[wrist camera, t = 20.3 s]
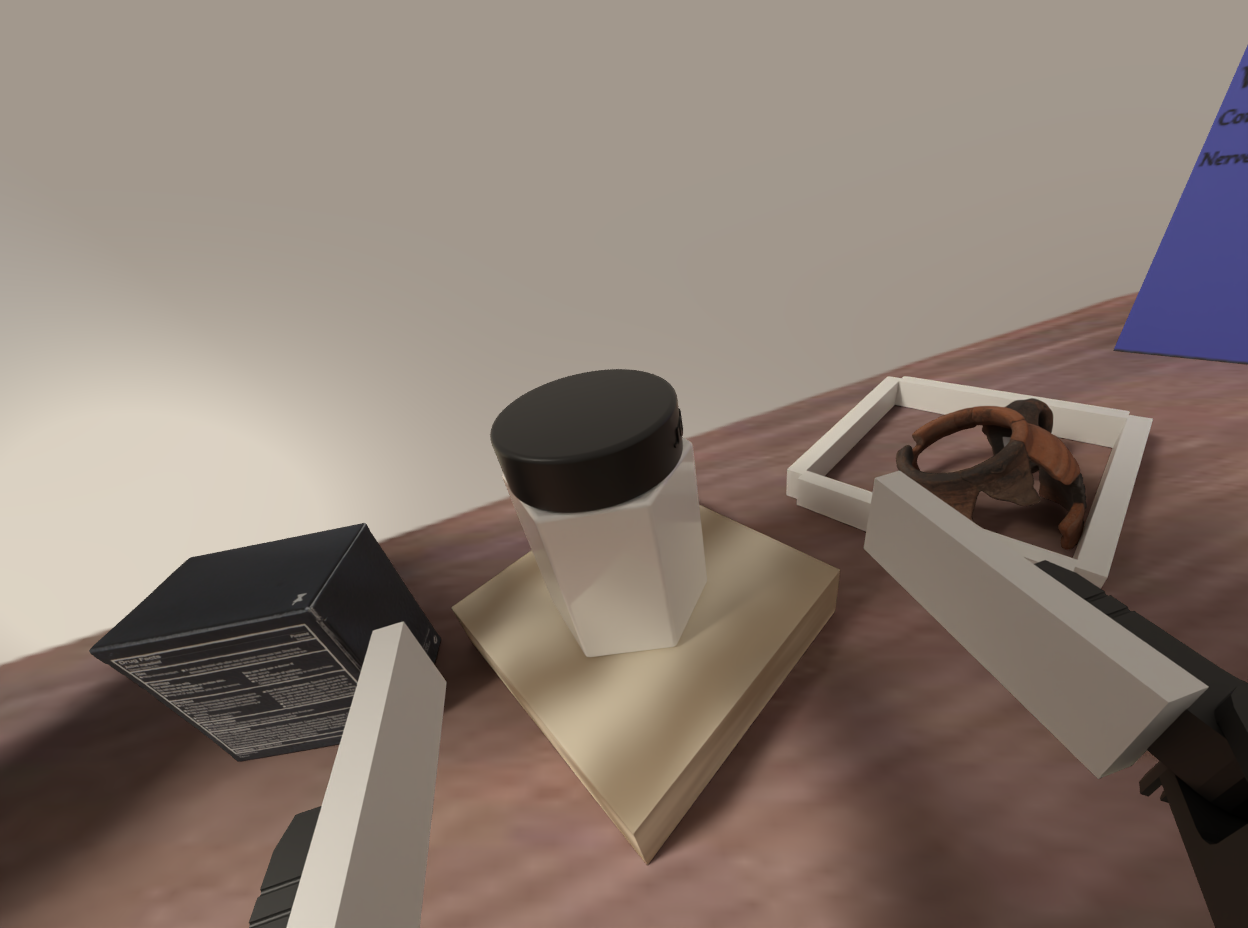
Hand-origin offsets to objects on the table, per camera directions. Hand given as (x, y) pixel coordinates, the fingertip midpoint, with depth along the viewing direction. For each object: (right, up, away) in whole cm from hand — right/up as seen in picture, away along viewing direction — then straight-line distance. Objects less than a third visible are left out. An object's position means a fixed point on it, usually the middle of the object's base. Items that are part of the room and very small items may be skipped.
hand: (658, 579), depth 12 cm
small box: (-18, -11, +15) cm, 26 cm away
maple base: (0, -7, +15) cm, 17 cm away
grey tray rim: (+24, +3, +22) cm, 33 cm away
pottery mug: (+24, 0, +19) cm, 31 cm away
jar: (-1, -4, +13) cm, 14 cm away
